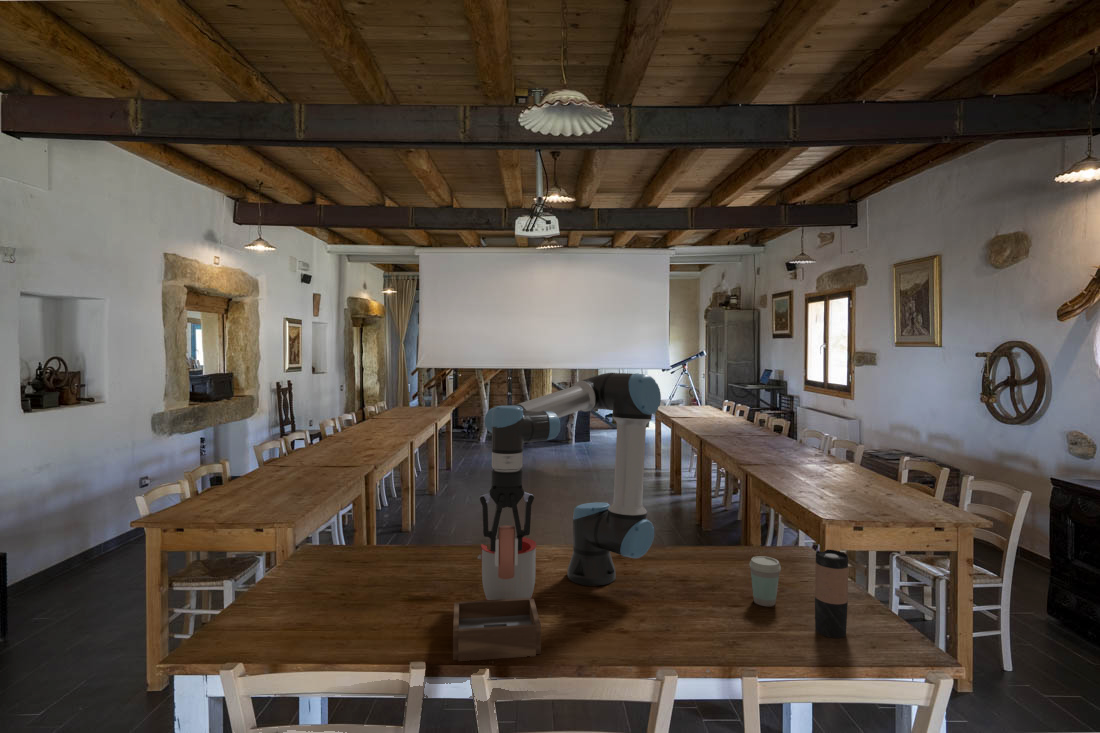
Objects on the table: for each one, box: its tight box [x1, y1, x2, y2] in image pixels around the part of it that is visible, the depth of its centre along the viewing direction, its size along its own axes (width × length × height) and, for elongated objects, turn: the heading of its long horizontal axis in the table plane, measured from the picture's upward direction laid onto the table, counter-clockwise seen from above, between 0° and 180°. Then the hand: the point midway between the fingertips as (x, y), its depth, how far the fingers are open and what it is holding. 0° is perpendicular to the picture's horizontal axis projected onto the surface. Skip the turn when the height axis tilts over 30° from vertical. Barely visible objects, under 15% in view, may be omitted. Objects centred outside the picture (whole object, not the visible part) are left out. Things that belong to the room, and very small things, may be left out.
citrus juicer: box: [477, 536, 537, 600], centre depth 170 cm, size 16×17×20 cm
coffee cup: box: [748, 555, 782, 607], centre depth 171 cm, size 8×9×12 cm
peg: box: [497, 524, 516, 579], centre depth 147 cm, size 4×4×12 cm
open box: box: [452, 598, 542, 662], centre depth 148 cm, size 16×20×7 cm
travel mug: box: [814, 549, 849, 639], centre depth 153 cm, size 8×8×20 cm
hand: (506, 563), depth 148 cm, fingers closed on peg, 4 cm apart
